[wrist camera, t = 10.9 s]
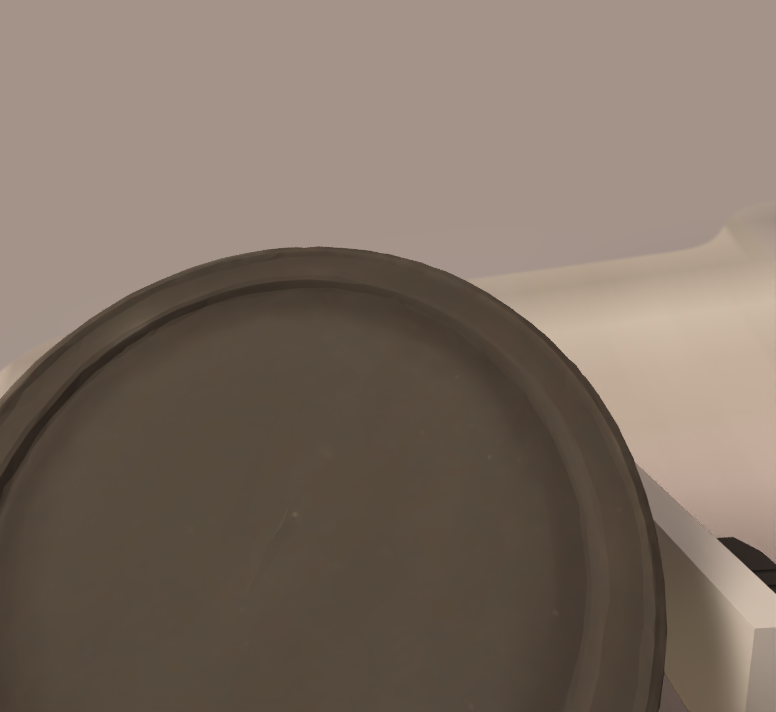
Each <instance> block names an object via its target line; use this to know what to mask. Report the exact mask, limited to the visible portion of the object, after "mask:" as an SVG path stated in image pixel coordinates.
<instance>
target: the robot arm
mask: <svg viewBox="0 0 776 712" xmlns="http://www.w3.org/2000/svg"><path fill="white" fill-rule="evenodd" d="M635 465H636V467H637V470H638V473H639V476H640V478H641V481H642V484H643V486H644V489H645V492H646V495H647V498H648V502H649V506H650V509H651V513H652V517H653V520H654V524H655V528H656V533H657V538H658V544H659V549H660V554H661V560H662V567H663V574H664V581H665V598H666V617H667V642H666V655H665V667H664V673H665V675H666V676H667V678H668V679H669V681H670V682H671V684H672V686H673V687H674V689H675V690H676V692H677V693H678V695H679V697H680V698H681V700H682V701H683V703H684V704H685V706H686V707H687V709H688V711H689V712H776V564H775V563H774V562H773V561H771V560H770V559H769V558H768V557H767V556H766V555H764V554H763V553H762V552H761V551H759V550H757V549H755V548H753V547H751V546H749V545H747V544H745V543H744V542H742V541H740V540H738V539H736V538H734V537H728V538H715V537H714V536H713V535H712V534H711V533H710V532H709V531H708V530H707V529H706V528H705V527H704V526H703V525H701V524H700V523H699V522H698V521H697V520H696V519H695V518H694V517H693V516H692V515H691V514H690V513H689V512H688V511H686V510H685V509H684V508H683V507H682V506H681V505H680V504H679V503H678V502H677V501H676V500H675V499H674V498H673V497H671V496H670V495H669V494H668V493H667V492H666V491H665V490H664V489H663V488H662V487H661V486H660V485H659V484H658V483H656V482H655V481H654V480H653V479H652V478H651V477H650V476H649V475H648V474H647V473H646V472H645V471H644V470H643V469H641V468H640V467H639V466H638V465H637V464H636V463H635Z"/></svg>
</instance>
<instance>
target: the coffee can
mask: <svg viewBox="0 0 776 712" xmlns="http://www.w3.org/2000/svg"><path fill="white" fill-rule="evenodd" d="M666 642H667V617H666V598H665V581H664V574H663V567H662V560H661V554H660V549H659V544H658V538H657V533H656V528H655V524H654V520H653V517H652V513H651V509H650V506H649V502H648V498H647V495H646V492H645V489H644V486H643V484H642V481H641V478H640V476H639V473H638V470H637V467H636V465H635V462H634V459H633V457H632V455H631V453H630V451H629V448H628V446H627V444H626V442H625V440H624V438H623V436H622V434H621V432H620V429H619V427H618V425H617V424H616V422H615V420H614V419H613V417H612V416H611V414H610V412H609V411H608V409H607V408H606V406H605V404H604V403H603V401H602V400H601V398H600V396H599V395H598V393H597V392H596V391H595V389H594V388H593V386H592V385H591V384H590V382H589V381H588V380H587V379H586V377H585V376H584V375H582V373H581V372H580V370H579V369H578V368H577V366H576V365H575V364H574V363H573V362H572V361H571V360H569V359H568V358H567V357H566V356H565V355H564V354H563V352H562V351H561V350H560V349H559V348H558V347H557V346H556V345H555V344H554V343H553V342H552V341H551V340H550V339H549V338H548V337H547V336H546V335H545V334H544V333H542V332H541V331H540V330H538V329H537V328H536V327H535V326H534V325H533V324H532V323H530V322H529V321H528V320H526V319H525V318H523V317H522V316H521V315H519V314H518V313H517V312H515V311H514V310H513V309H511V308H510V307H509V306H507V305H506V304H504V303H502V302H501V301H499V300H498V299H496V298H495V297H493V296H492V295H490V294H489V293H487V292H485V291H484V290H482V289H480V288H478V287H476V286H474V285H473V284H471V283H469V282H467V281H465V280H463V279H461V278H459V277H457V276H455V275H452V274H450V273H448V272H446V271H443V270H440V269H437V268H434V267H431V266H428V265H426V264H423V263H421V262H417V261H413V260H408V259H405V258H401V257H397V256H393V255H389V254H382V253H377V252H372V251H366V250H357V249H347V248H332V247H310V248H296V247H295V248H279V249H270V250H263V251H257V252H251V253H245V254H240V255H236V256H231V257H226V258H221V259H218V260H215V261H212V262H208V263H205V264H202V265H199V266H195V267H192V268H190V269H187V270H184V271H182V272H179V273H177V274H174V275H172V276H169V277H167V278H165V279H162V280H160V281H158V282H156V283H153V284H151V285H149V286H146V287H144V288H142V289H140V290H138V291H136V292H134V293H132V294H130V295H128V296H126V297H124V298H123V299H121V300H119V301H118V302H116V303H115V304H113V305H111V306H110V307H108V308H107V309H105V310H103V311H102V312H100V313H98V314H97V315H95V316H94V317H92V318H91V319H89V320H88V321H87V322H85V323H84V324H83V325H81V326H80V327H79V328H77V329H76V330H75V331H73V332H72V333H70V334H69V335H67V336H66V337H65V338H63V339H62V340H61V341H60V342H58V343H57V344H56V345H55V346H54V347H52V348H51V349H50V350H49V351H47V352H46V353H45V354H44V355H43V356H42V357H40V358H39V359H38V360H37V361H36V362H35V363H34V364H33V365H32V366H31V367H30V368H29V369H28V370H27V371H26V372H25V373H24V374H23V375H22V376H21V377H20V378H19V379H18V380H17V381H16V382H15V383H14V384H13V385H12V386H11V387H10V388H9V390H8V391H7V392H6V393H5V394H4V395H3V396H2V398H1V399H0V712H658V710H659V707H660V700H661V692H662V684H663V676H664V667H665V655H666Z"/></svg>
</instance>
